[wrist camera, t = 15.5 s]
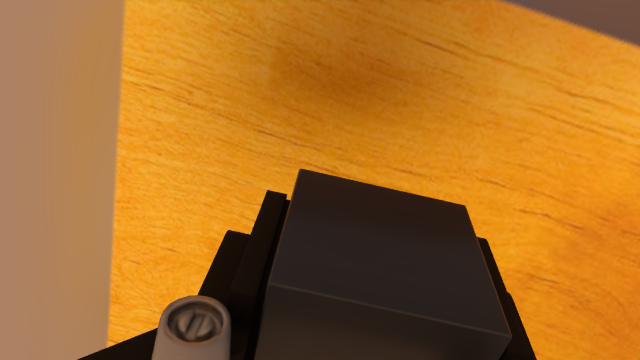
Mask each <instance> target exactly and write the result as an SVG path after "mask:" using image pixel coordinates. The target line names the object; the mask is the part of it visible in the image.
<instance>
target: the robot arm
mask: <svg viewBox="0 0 640 360" xmlns="http://www.w3.org/2000/svg"><path fill="white" fill-rule="evenodd" d="M286 198H287V194H283V193H279V192H274V191H270V190H267V192H266V195H265V198H264V200H263V203H262V206H261V208H260V211H259V214H258V216H257V219H256V222H255V224H254V227H253V229H252V232H251V235H249V234H245V233H240V232H236V231H231V230H228V231H227V232H226V234H225V236H224V239H223V241H222V243H221V245H220V247H219V249H218V252H217V254H216V256H215V258H214V260H213V262H212V265H211V267H210V269H209V271H208V273H207V275H206V278H205V280H204V282H203V284H202V286H201V288H200V291H199V293H198V295H195V296H187V297H183V298H180V299H177V300H176V301H174V302H172V303H171V304H169V305H168V306H167V308H166V309H165V310H164V311H163V313H162V315H161V318H160V321H159V326H158V328H156V329H153V330H151V331H148V332H146V333H143V334H141V335H138V336H136V337H133V338H131V339H128V340H126V341H123V342H121V343H118V344H115V345H113V346H110V347H108V348H105V349H103V350H100V351H98V352H95V353H93V354H90V355H88V356H85V357H83V358H80V359H78V360H252V358H253V353H254V348H255V343H256V338H257V333H258V328H259V323H260V318H261V313H262V308H263V303H264V298H265V293H266V288H267V283H268V279H269V276H270V272H271V268H272V265H273V261H274V258H275V254H276V251H277V247H278V243H279V240H280V236H281V233H282V229H283V226H284V222H285V218H286V215H287V211H288V208H289V204H290V200H286ZM477 239H478V242H479V245H480V248H481V251H482V253H483V256H484V259H485V262H486V265H487V267H488V270H489V273H490V276H491V278H492V281H493V284H494V287H495V290H496V292H497V295H498V298H499V301H500V304H501V306H502V309H503V312H504V315H505V318H506V320H507V323H508V326H509V329H510V332H511V334H512V339H511V340H510V342H509V344H508V345H507V347H506V349H505V351H504V352H503V354H502V356H501V357H500V359H499V360H537V359H536V357H535V354H534V352H533V349H532V346H531V344H530V341H529V339H528V336H527V334H526V331H525V329H524V326H523V324H522V321H521V319H520V316H519V314H518V311H517V308H516V306H515V303H514V301H513V298H512V297H511V295H510V294H509V293H508V292H507V290H506V288H505V285H504V283H503V280H502V278H501V275H500V272H499V270H498V267H497V265H496V262H495V259H494V257H493V254H492V252H491V249H490V247H489V244H488V241H487V240H486V239H484V238H480V237H477Z"/></svg>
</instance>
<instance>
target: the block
mask: <svg viewBox="0 0 640 360" xmlns="http://www.w3.org/2000/svg"><path fill="white" fill-rule="evenodd" d="M511 339H512V334H511V332H510V329H509V326H508V323H507V320H506V318H505V315H504V312H503V309H502V306H501V304H500V301H499V298H498V295H497V292H496V290H495V287H494V284H493V281H492V278H491V276H490V273H489V270H488V267H487V265H486V262H485V259H484V256H483V253H482V251H481V248H480V245H479V242H478V239H477V237H476V234H475V231H474V228H473V225H472V223H471V220H470V217H469V214H468V212H467V209H466V206H464V205H461V204H456V203H452V202H447V201H443V200H438V199H434V198H429V197H425V196H421V195H416V194H412V193H407V192H403V191H398V190H394V189H390V188H385V187H381V186H376V185H372V184H367V183H363V182H359V181H354V180H350V179H345V178H341V177H336V176H332V175H327V174H323V173H319V172H314V171H310V170H305V169H299V172H298V175H297V179H296V183H295V186H294V190H293V193H292V197H291V200H290V204H289V208H288V211H287V215H286V218H285V222H284V226H283V229H282V233H281V236H280V240H279V243H278V247H277V251H276V254H275V258H274V261H273V265H272V268H271V272H270V276H269V279H268V283H267V288H266V293H265V298H264V303H263V308H262V313H261V318H260V323H259V328H258V333H257V338H256V343H255V348H254V353H253V358H252V360H499V359H500V357H501V356H502V354H503V352H504V351H505V349H506V347H507V345H508V344H509V342H510V340H511Z"/></svg>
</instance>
